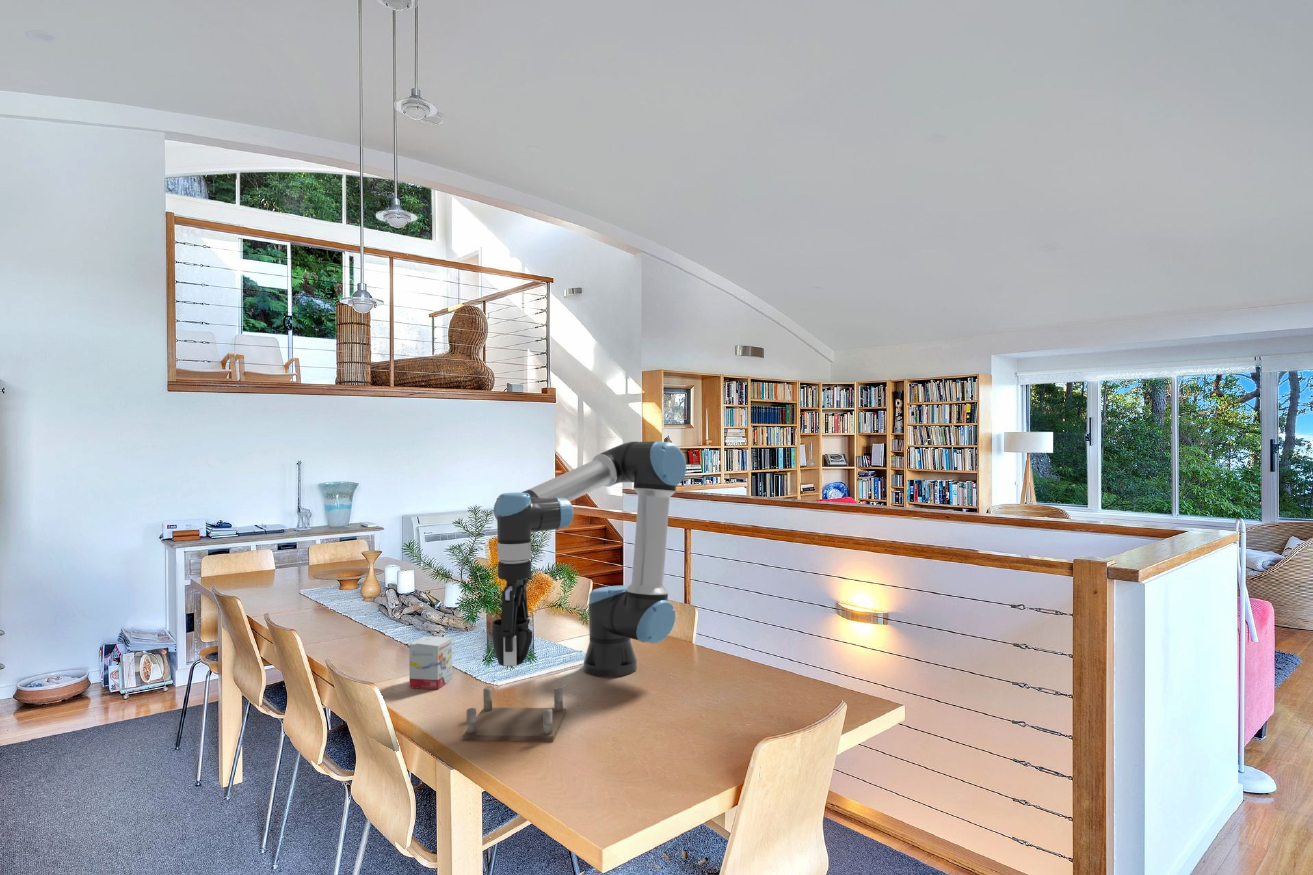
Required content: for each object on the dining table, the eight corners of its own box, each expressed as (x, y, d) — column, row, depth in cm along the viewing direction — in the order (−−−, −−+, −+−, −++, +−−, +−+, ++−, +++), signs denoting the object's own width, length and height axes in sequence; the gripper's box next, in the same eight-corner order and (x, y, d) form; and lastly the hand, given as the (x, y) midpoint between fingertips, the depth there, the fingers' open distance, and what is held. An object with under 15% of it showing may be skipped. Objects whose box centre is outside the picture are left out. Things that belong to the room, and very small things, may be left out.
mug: (513, 674, 161) (512, 631, 161) (485, 662, 170) (485, 621, 170) (545, 666, 166) (544, 624, 166) (516, 655, 175) (516, 615, 175)
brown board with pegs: (566, 713, 176) (565, 687, 176) (553, 741, 161) (553, 712, 160) (483, 712, 177) (483, 686, 177) (462, 740, 161) (462, 712, 161)
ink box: (438, 690, 193) (437, 645, 193) (408, 688, 195) (407, 643, 195) (453, 679, 202) (453, 635, 202) (424, 677, 204) (424, 634, 203)
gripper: (510, 552, 180) (510, 644, 180) (484, 569, 158) (485, 674, 158) (540, 552, 179) (541, 644, 179) (519, 569, 158) (520, 674, 158)
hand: (515, 658), depth 169 cm, fingers closed on mug, 9 cm apart
